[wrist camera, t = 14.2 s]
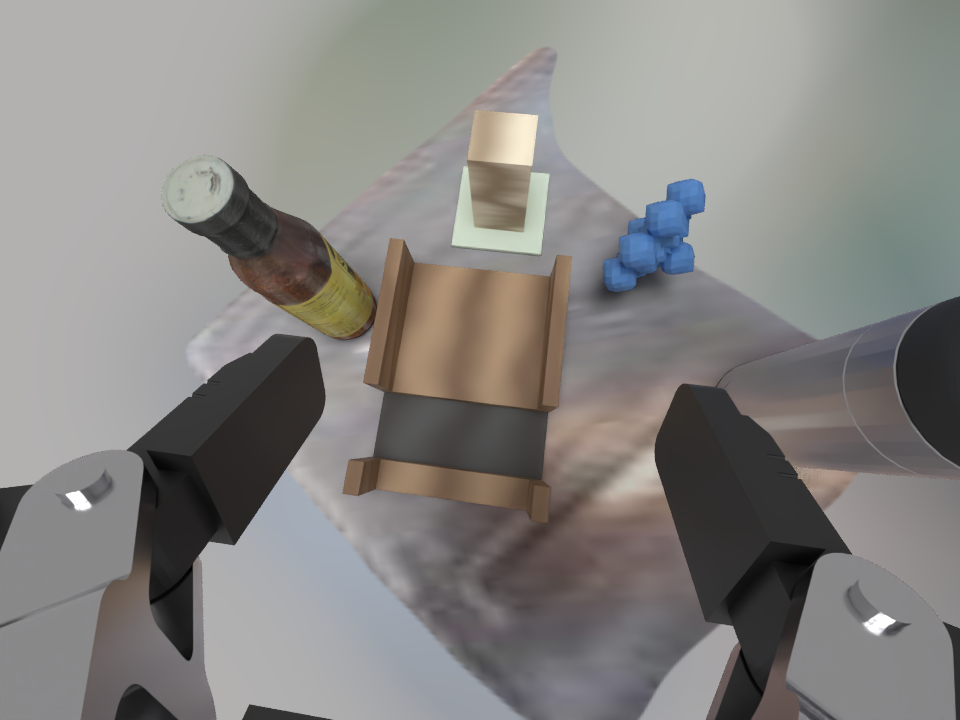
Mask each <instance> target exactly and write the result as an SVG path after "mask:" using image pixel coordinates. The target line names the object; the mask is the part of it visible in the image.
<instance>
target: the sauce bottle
mask: <svg viewBox="0 0 960 720" xmlns="http://www.w3.org/2000/svg"><path fill="white" fill-rule="evenodd" d="M161 198H162V205H163V207H164V208H165V211H166V212H167V213H168V215H169V216H170V217H171V218H173V219H174V220H175V221H177V222H178V223H179V224H181V225H182V226H184V227H185V228H187V229H188V230H190V231H191V232H193V233H195V234H198V235H200V236H205V237H206V238H208V239H210V240H211V241H212V242H214V243H215V244H217V245H218V246H219V247H220V248H221V250H222V251H224V252H225V253H227V254H228V258H229V261H230V265H231V267H232V270H233V271H234V272H235V273H236V275H237V276H238V278H239V279H240V280H241V281H242V282H243V283H244V284H245V285H247V286H248V287H249V288H251V289H252V290H254V291H255V292H258V293H259V294H261V295H263V297H265V298H266V299H267V300H268V301H269V302H271V303H273V304H275V305H276V306H278V307H280V308H281V309H283V310H285V311H286V312H288V313H290V314H291V315H293V316H295V317H296V318H298V319H300V320H302V321H303V322H305V323H307V324H308V325H310V326H312V327H313V328H315V329H317V330H319V331H320V332H322V333H323V334H327V335H329V336H331V337H333V338H336V339H343V340H344V339H350V338H355V337H358V336H360V335H362V334H363V333H364V332H366V331H367V330H368V328H369V327H370V326H371V325H372V323H373V321H374V319H375V316H376V304H375V298H374V297H373V295H372V293H371V291H370V289H369V288H368V286H367V285H366V284H365V283H364V282H363V280H362V279H361V278H360V277H359V276H358V275H357V274H356V273H355V272H354V271H353V269H352V268H351V267H350V266H349V265H348V264H347V263H346V262H345V261H344V259H343V258H342V257H341V256H340V255H339V254H338V253H337V251H336V250H335V249H334V248H333V247H332V246H331V245H330V244H329V243H328V242H327V240H326V239H324V237H323V236H322V235H321V234H320V233H319V232H318V231H317V230H316V229H315V228H314V227H313V226H312V225H311V224H309V223H308V222H306V221H304V220H302V219H300V218H297V217H294V216H292V215H289V214H286V213H283V212H281V211H278V210H276V209H273V208H271V207H270V206H268V205H267V204H266V203H264V202H262V201H261V200H260V199H259V198H258V197H257V195H256V194H254V193H253V192H252V191H251V190H250V189H249V188H248V185H247V183H246V181H245V180H244V178H243V177H242V176H241V175H240V174H239V173H238V172H236V171H235V170H234V169H233V168H232V167H230V166H229V165H228V164H227V163H226V162H224V161H223V160H221V159H220V158H218V157H214V156H209V155H202V156H197V157H193V158H190V159H188V160H186V161H184V162H182V163H181V164H179V165H178V166H176V167H175V168H173V169H172V170H171V172H170V173H169V174H168V175H167V177H166V180H165V181H164V183H163V187H162V194H161Z"/></svg>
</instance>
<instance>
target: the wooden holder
mask: <svg viewBox="0 0 960 720" xmlns="http://www.w3.org/2000/svg"><path fill="white" fill-rule="evenodd" d="M571 260H572V256H562V255H557V257H556V261H555V264H554V267H553V270H552V273H551V276H550V277H547V276H537V275H528V274H518V273H509V272H499V271H489V270H480V269H470V268H460V267H451V266H441V265H432V264H422V263H414V261H413V258H412V256H411V254H410V252H409V250H408V248H407V245H406V243H405V241H404V240H402V239H392V238H390V242H389V247H388V252H387V258H386V263H385V268H384V274H383V279H382V284H381V290H380V295H379V300H378V306H377V311H376V317H375V322H374V327H373V333H372V338H371V343H370V349H369V354H368V359H367V365H366V370H365V375H364V381H363V383H365V384H368V385H370V386H372V387H374V388H377V389H379V390H381V391H383V392H384V398H383V404H382V409H381V415H380V421H379V426H378V432H377V438H376V443H375V449H374V455H373V457H368V458H359V459H351V460H349V461H348V466H347V472H346V477H345V483H344V488H343V493H342V494H348V495H354V496H359V495H362V494H364V493H367V492H369V491H372V490H374V489H379V490H386V491H393V492H400V493H407V494H414V495H421V496H428V497H435V498H442V499H449V500H456V501H463V502H470V503H477V504H485V505H492V506H499V507H506V508H513V509H520V510H527V513H528V515H529V517H530V520H531V521H536V522H543V523H548V513H549V502H550V491H551V487H549V486H548V485H547V484H546V483H545V482H544V481H542V470H543V460H544V449H545V439H546V428H547V418H548V412H550V411H552V410H553V409H555V408H557V407H558V403H559V392H560V381H561V370H562V359H563V348H564V337H565V326H566V315H567V304H568V293H569V282H570V271H571Z"/></svg>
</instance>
